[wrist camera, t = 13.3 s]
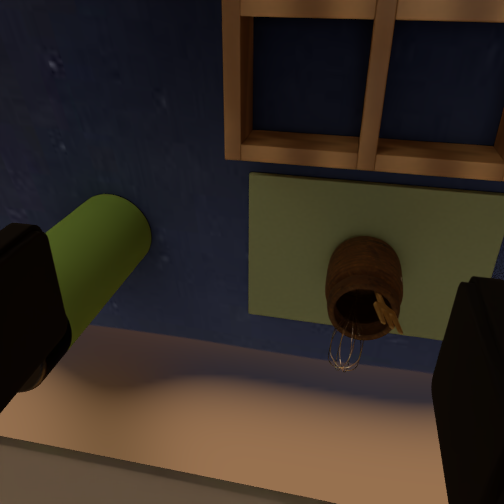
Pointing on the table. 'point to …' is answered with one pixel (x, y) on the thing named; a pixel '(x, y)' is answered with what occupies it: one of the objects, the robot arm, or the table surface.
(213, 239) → the table surface
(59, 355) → the tumbler
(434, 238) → the desk mat
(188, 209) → the table surface
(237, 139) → the frame
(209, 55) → the table surface
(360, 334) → the utensil holder
